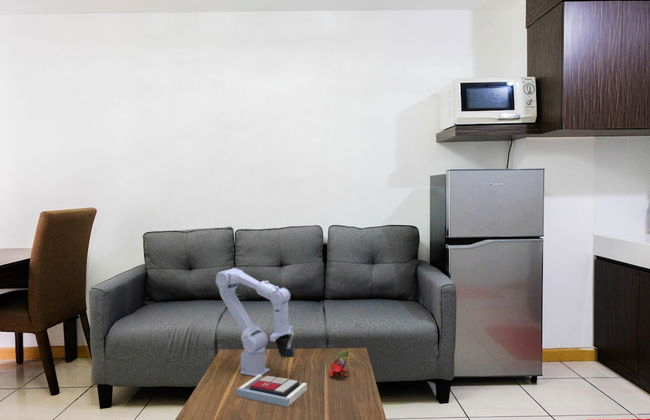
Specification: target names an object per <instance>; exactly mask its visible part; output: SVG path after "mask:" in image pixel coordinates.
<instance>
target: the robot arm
mask: <svg viewBox="0 0 650 420" xmlns="http://www.w3.org/2000/svg"><path fill="white" fill-rule="evenodd" d="M215 284H216V286H217V288H218V291H219V295H220V297H221V299H222V301H223V303H224V304H225V306H226V308H227V309H228V311H229V313H230V314H231V317H232V318H233V319H234V321H235V322H236V324H237V326H238V328H239V329H240V332H241V336H240V341H241V342H242V345H243V348H244V349H243V350H242V352H241V354H240V372H239V374H241V375H243V374H244V375H246V376H252V377H256V376H257V375H259V374H260V375H262V376H263V375H264V374H266V373H267V372H269V371H270V368H267V367H266V346H267V345H268V342H269V341H270V342H275V344H276V347H277V350H278V353H279V355H281V354H282V355H284V354H286V349H287V345H288V342H289V339H290V337H291V335H289V334H291V333H292V332H294V327H293V325H290V321H289V319H290V318H289V301H290V299H291V292H290V291H289V289H287V288H286V287H279V286H278V285H276V286H275V284H272V283H270V282H269V280H262V281H259V280H257V279H256V278H254V277H252V276H250V275H248V274H247V273H245V272H244V271H243V270H242V269H239V268H237V267H232V268H231V269H226V270H222V271H218V272H217V274H216V277H215ZM239 284H242V285H244V286H246V287H249V288H251V289H253V290H256V293H257V294H258V295H259V296H261V297H264V298H266V299H267V300H270V303H271V304H272V309H273V328H274V329H273V332H272V334H271V335H269V337H268V335H267V334H266V332H264V331H263V330H262V328H261V327H260V326H258V325H255V324H254V323H253V321H252V319H251V318H250V316H249V314H248V313H247V311H246V309H245V307H244V306H243V303H241V301H240V300H239V297H238V296H237V294H236V289H237V287H238V286H239ZM291 331H292V332H291Z"/></svg>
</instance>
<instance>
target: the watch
mask: <svg viewBox="0 0 650 420" xmlns="http://www.w3.org/2000/svg"><path fill="white" fill-rule="evenodd" d="M291 332H292V333H291V334H289V335H291V337H290V339H289V342H288V345H287V349H286V354H284V355H282V354H280V357H281V358H282V357H283V358H294V356H295V354H296V353H295V352H296V349H295V346H292V341H293V338H294V336H295V332H294V331H291Z"/></svg>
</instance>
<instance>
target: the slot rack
mask: <svg viewBox="0 0 650 420" xmlns="http://www.w3.org/2000/svg"><path fill="white" fill-rule="evenodd" d="M262 378H263V375H260V374H259V375H257V376H253V378H251V379H250V380H248V381H246V382H245V383H244V384H242V385H240V386H239V387H238V388H237V389H236V396H237V397H240V398H244V399H249V400H252V401H253V400H254V401H257V402H263V403H268V404H272V405H276V406H277V405H278V406H282V407H285V408H288V407H290V405H291V404H293V403H294V402H295V401H296V400H298V398H300V397H301V396H302V395H303V394H305V393H306V391H308V383H306V382H303V383H301V384H299V385H300V386H299V387H298V388H296V389H295V390H294V391H293V392H292V393H290V394H289V395H288V396H287V397H282V396H277V395H272V394H268V393H263V392H258V391H253V390H250V387H251V385H253V384H254V383H256V382H257V381H260V379H262Z"/></svg>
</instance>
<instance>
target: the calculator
mask: <svg viewBox="0 0 650 420" xmlns="http://www.w3.org/2000/svg"><path fill="white" fill-rule="evenodd" d="M300 385H301V384H300V381H299V380H294V379H289V378H284V377H277V376H273V375H272V376H270V375H266V376H264V377H262V379H260V381H257V382H256V383H254V384H253V385H251V387H250V390H253V391H258V392H263V393H268V394H272V395H277V396H282V397H287V396H288V395H289V394H290V393H292V392H293V391H294V390H295V389H296V388H298V387H299V386H300Z"/></svg>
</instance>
